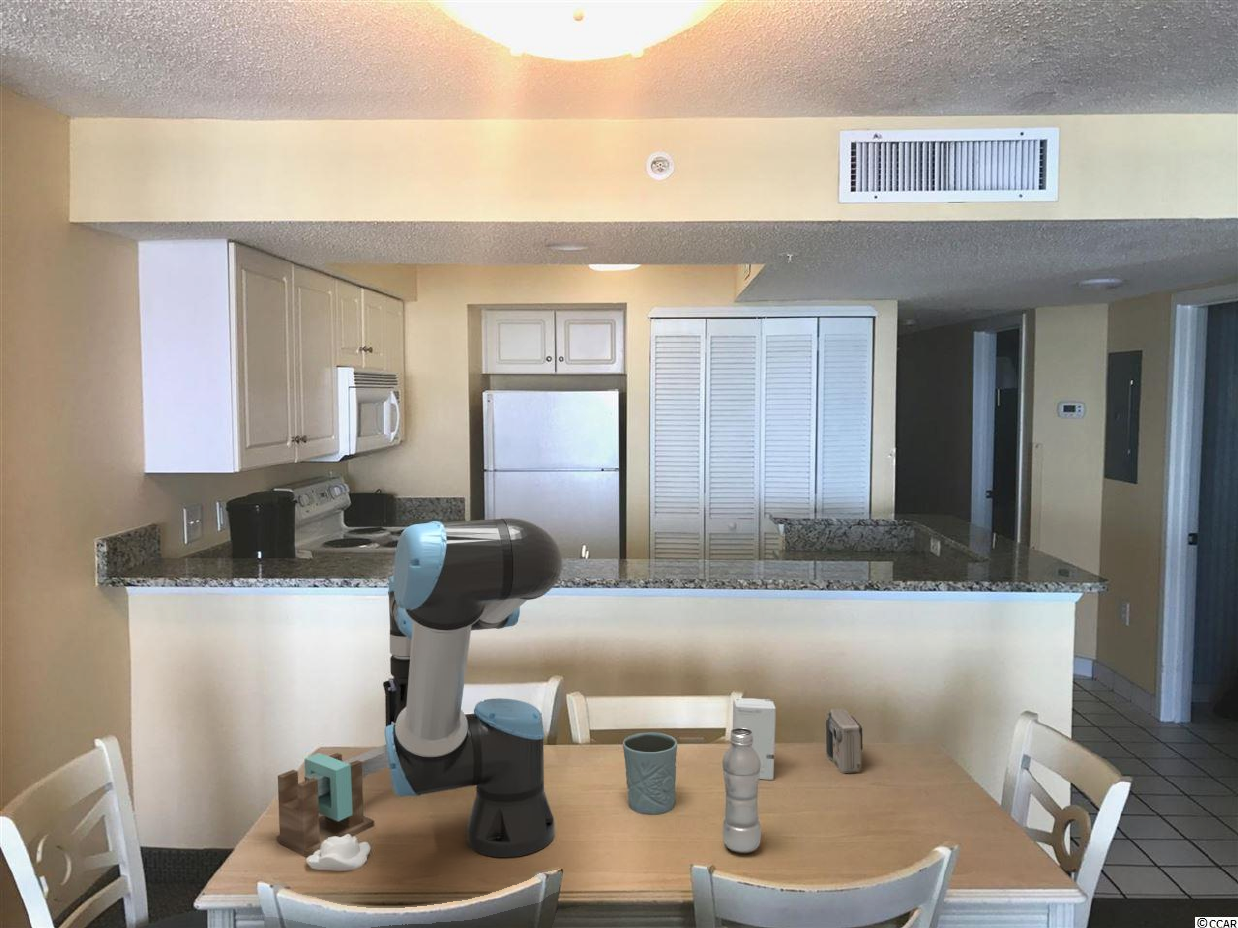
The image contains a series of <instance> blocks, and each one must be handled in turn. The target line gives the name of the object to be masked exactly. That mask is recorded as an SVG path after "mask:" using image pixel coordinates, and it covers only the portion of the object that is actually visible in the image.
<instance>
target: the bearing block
mask: <svg viewBox="0 0 1238 928" xmlns="http://www.w3.org/2000/svg"><path fill="white" fill-rule="evenodd" d="M328 756H329V757H332V758H334V759H337V760H340V761H343V754H342V753H339V752H336V753H334V754H331V755H328ZM349 764H351V786H352V810H353V815H351V816H349V817H347V818H345V819H343V820H340V821H335V820H333V819H331V818H329V817H326V816H324V815H322V816H320V813H319V803H318V779H315V778H311V779H309V780H306V781H305V780H304V781H301V782H299V771H298V770H295V769H291V770H288V771H287V772H283V773H281V774H279V775H277V792H278V799H277V800H278V823H279V827H278V828H279V829H278V830H279V835H277V836H276V837H275V838H276V843H277V844H279V845H281V846H282V847H285V848H288V850H289V849H290V850H292V851H293V852H295V853H297V854H299V855H301V856H303V857H306V858H307V857H309V856H311V855H313V854H314V852H315V851H317V850H320V848H321V843H322V842H323V841H324V840H327V839H328V838H329V837H334V836H336V837H342V836H345V835H346V834H350V835H351V836H352V837H354V836H357V835H359V834H360V833H362V832H365V831H366V830H369V829H370V828H373V827H374V826H375V820H374V819H372V818H369V817H366V816H364V785H363V784H364V783H363V778H362V762H361V761H358V760H356V761H354V762H351V763H349ZM327 795H329V796H331V792H328V793H327Z"/></svg>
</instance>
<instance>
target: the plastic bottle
mask: <svg viewBox="0 0 1238 928" xmlns="http://www.w3.org/2000/svg"><path fill="white" fill-rule="evenodd" d="M729 739H730V740H729V743H730V744H731V745H730V746H729V748H728V749H727V750H726V752H725V754H724V755H723V758H722V772H723V778H724V789H725V810H724V820H723V825H722V832H721V833H722V838H723V842H724V844H725V845H726V847H727V849H729V850H731V851H733V852H736V853H739V854H749V853H753V852H754V851H756V850H757V849H758V847H760V845H761V840H762V830H761V824H760V820H759V818H760V817H759V808H758V806H759V805H758V792H759V783H760V782H759V781H760V779H759V775H760V766H761V763H760V759H759V756H758V755H757V753H756V751H755V750H754V749H753V747H752V746H751V745H752V744H753V733H752V731H751V730H749V729H746V728H735V729H733V728H732V729H730V738H729Z"/></svg>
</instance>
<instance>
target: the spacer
mask: <svg viewBox="0 0 1238 928" xmlns="http://www.w3.org/2000/svg"><path fill="white" fill-rule="evenodd" d="M329 756H330V755H327V754H323V753H321V752H318V753H316V754H312V755H310V756H308V757H305V758H304V776H307V775H310V774H312V773H315V772H316V773H318V774H321V775H323V776H326V777H329V778H330V789H331V796H329V795H327V793H326V794H323V795H321V796H319V797H318V803H319V815H322V816H326V817H329V818H331V819H333V820H335V821H340V820H343V819H345V818H347V817H349V816H351V815H353V810H352V786H351V764H348V763H345V762H343V761H344V760H342V761H340V760H337V759H334V758H332V757H329Z"/></svg>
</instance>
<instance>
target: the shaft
mask: <svg viewBox="0 0 1238 928" xmlns="http://www.w3.org/2000/svg"><path fill="white" fill-rule="evenodd" d="M356 760H358V761H361V762H362V779H364V778H366V777H368V776H371V775H373V774H376V773H378V772H381V771H383V770H385V769H389V761H388V755H387V748H386V744H383V745H381V746H378V747H376V748H374V749H370V750H369V751H365V752H363V753H361V754H359V755H356V756H353V757H351V758H349V759H345V760H342V761H343V762H345V763H348V764H349V763H351V762H354V761H356ZM311 778H315V779H318V797H319V796H321V795H323V794H326V793H328V792H331V789H330V778H329V777H326V776H323V775H321V774H318V773H316V772H315V773H312V774H310V775H307V776H305V775H304V781H306V780H309V779H311Z"/></svg>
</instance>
